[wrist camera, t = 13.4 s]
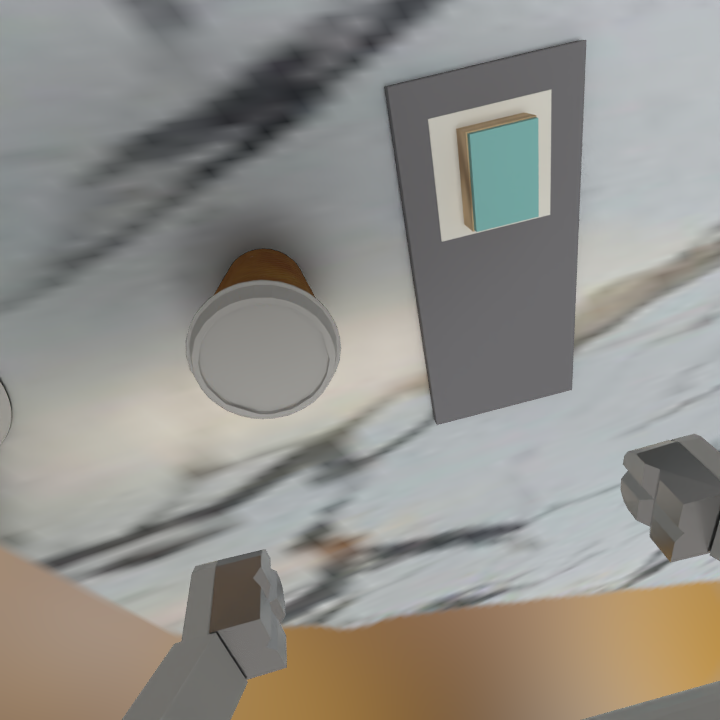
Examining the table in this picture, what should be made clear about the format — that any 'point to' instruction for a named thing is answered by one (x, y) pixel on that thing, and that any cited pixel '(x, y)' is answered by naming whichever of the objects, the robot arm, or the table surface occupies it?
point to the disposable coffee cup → (263, 339)
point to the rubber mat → (492, 232)
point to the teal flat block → (499, 171)
